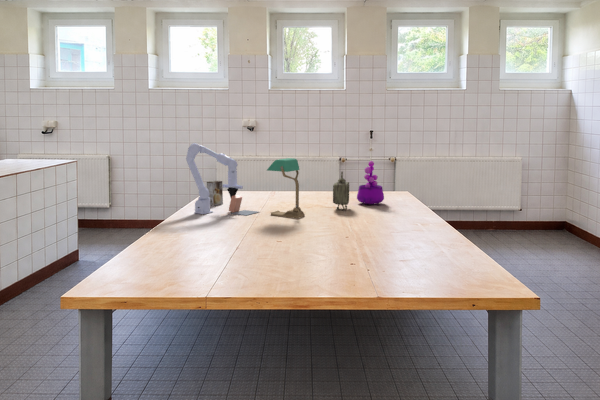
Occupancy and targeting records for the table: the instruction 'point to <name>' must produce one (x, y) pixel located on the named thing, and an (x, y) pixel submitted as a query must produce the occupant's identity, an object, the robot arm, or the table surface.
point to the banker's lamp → (288, 166)
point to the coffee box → (215, 192)
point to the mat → (245, 212)
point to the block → (235, 203)
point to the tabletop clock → (341, 192)
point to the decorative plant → (370, 188)
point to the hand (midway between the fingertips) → (232, 199)
